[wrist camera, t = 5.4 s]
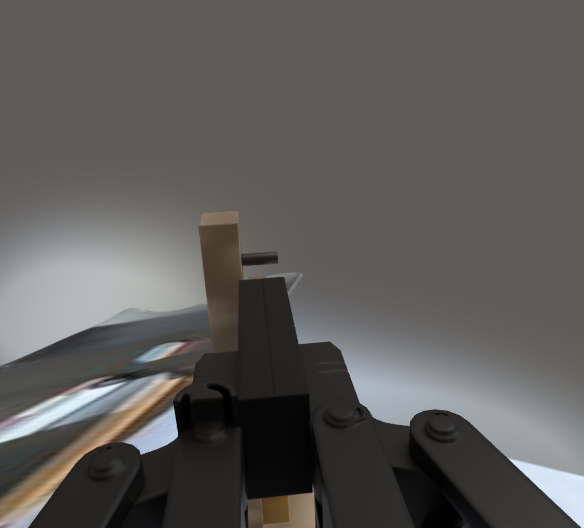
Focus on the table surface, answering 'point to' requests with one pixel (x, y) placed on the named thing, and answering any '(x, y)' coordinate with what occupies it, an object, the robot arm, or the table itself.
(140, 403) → the table surface
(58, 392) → the table surface
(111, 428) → the table surface
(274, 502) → the picture frame
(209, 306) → the post
